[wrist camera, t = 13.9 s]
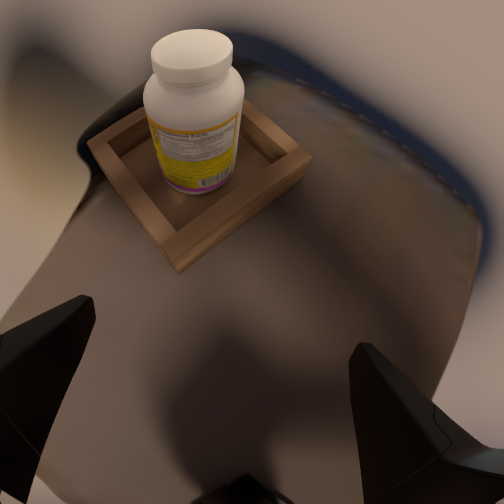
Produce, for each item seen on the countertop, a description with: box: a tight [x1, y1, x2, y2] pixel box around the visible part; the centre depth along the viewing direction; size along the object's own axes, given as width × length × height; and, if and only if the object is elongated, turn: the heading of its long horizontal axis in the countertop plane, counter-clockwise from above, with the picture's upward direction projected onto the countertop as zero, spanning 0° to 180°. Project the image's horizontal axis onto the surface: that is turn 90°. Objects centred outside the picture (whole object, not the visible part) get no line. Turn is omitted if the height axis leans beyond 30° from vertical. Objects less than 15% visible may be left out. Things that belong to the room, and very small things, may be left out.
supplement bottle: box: [143, 29, 244, 195], centre depth 19 cm, size 7×7×13 cm
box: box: [87, 98, 313, 274], centre depth 24 cm, size 14×14×4 cm
